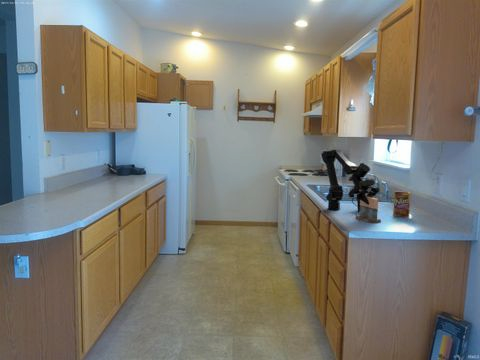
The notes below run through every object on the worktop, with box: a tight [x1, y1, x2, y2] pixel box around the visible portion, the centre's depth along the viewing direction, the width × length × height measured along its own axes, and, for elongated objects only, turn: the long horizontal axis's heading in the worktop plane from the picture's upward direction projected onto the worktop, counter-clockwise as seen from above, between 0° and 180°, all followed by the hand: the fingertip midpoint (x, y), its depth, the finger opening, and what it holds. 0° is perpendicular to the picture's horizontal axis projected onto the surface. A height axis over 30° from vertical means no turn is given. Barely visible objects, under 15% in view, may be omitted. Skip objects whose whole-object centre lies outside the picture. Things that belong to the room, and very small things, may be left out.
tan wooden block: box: [360, 196, 379, 209], centre depth 220 cm, size 12×2×6 cm, turn 23°
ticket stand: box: [355, 205, 382, 224], centre depth 221 cm, size 13×7×8 cm, turn 23°
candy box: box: [392, 190, 412, 219], centre depth 232 cm, size 9×4×15 cm, turn 60°
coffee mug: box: [351, 197, 360, 212], centre depth 248 cm, size 12×9×10 cm
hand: (370, 204), depth 219 cm, fingers closed on tan wooden block, 2 cm apart
